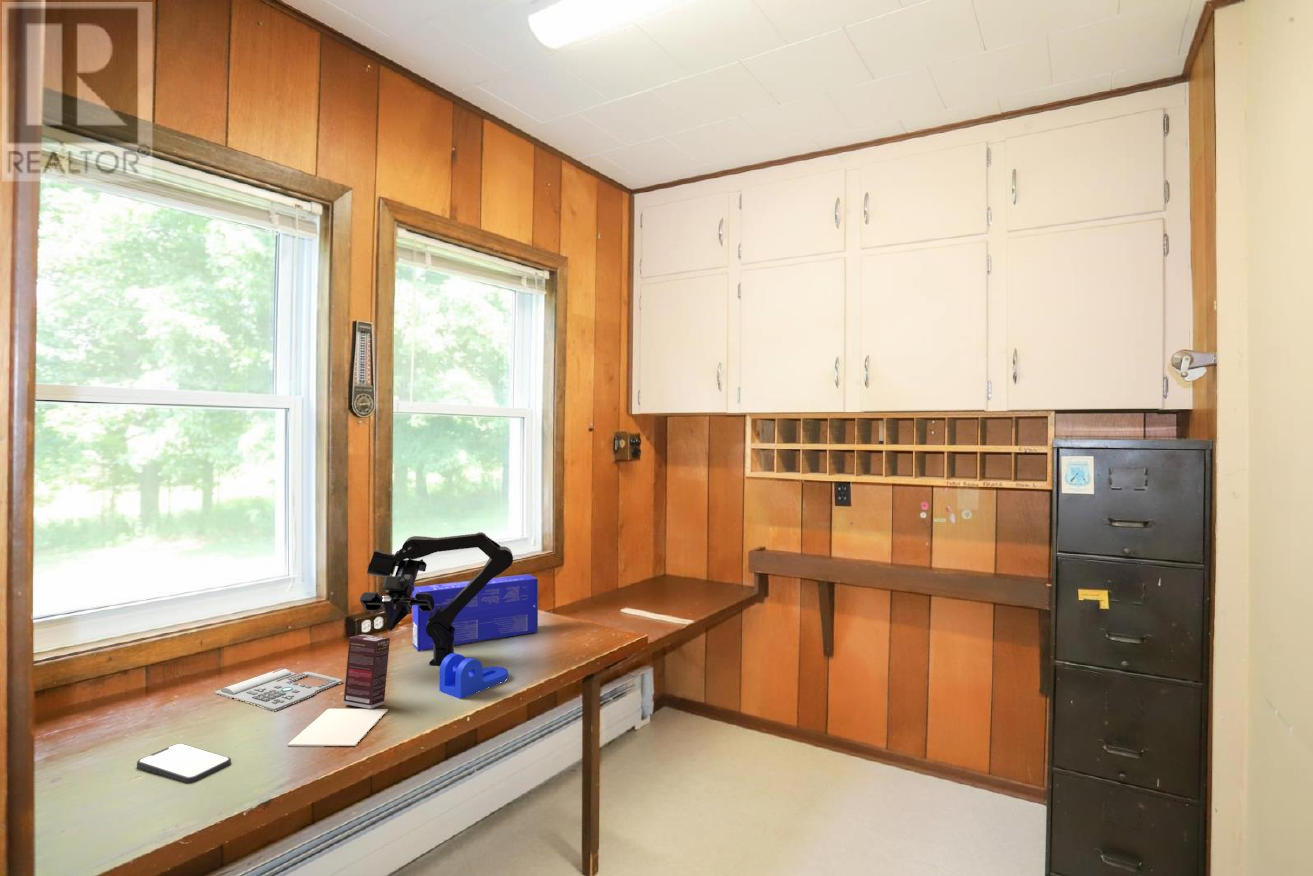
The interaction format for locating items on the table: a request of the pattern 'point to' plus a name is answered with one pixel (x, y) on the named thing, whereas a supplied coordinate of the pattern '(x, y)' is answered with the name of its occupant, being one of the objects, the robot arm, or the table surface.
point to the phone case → (183, 763)
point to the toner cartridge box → (483, 610)
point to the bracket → (467, 676)
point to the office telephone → (276, 689)
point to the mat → (339, 727)
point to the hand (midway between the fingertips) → (389, 630)
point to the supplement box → (366, 671)
